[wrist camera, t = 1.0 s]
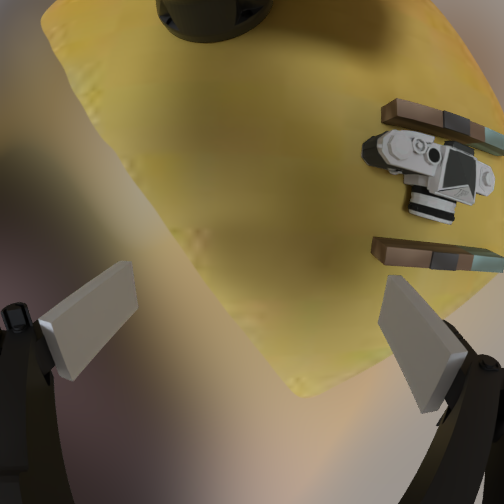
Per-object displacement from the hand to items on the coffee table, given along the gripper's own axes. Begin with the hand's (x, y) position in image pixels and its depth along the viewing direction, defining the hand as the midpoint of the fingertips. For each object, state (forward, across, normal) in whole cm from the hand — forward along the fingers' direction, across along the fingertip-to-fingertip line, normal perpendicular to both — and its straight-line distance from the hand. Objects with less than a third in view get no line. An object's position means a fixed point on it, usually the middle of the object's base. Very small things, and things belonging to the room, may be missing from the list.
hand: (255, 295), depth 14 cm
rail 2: (+20, +22, -3) cm, 30 cm away
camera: (+21, +18, +6) cm, 28 cm away
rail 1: (+21, +23, +13) cm, 34 cm away
